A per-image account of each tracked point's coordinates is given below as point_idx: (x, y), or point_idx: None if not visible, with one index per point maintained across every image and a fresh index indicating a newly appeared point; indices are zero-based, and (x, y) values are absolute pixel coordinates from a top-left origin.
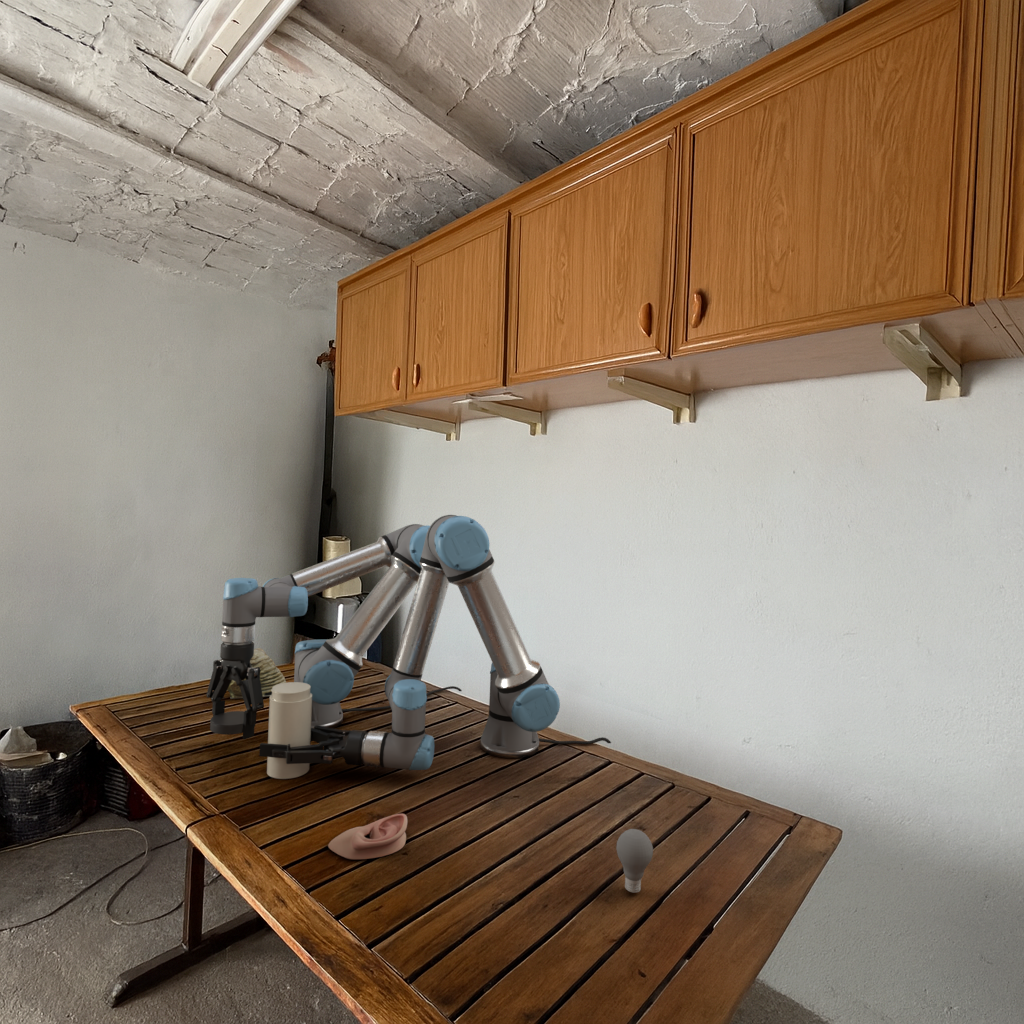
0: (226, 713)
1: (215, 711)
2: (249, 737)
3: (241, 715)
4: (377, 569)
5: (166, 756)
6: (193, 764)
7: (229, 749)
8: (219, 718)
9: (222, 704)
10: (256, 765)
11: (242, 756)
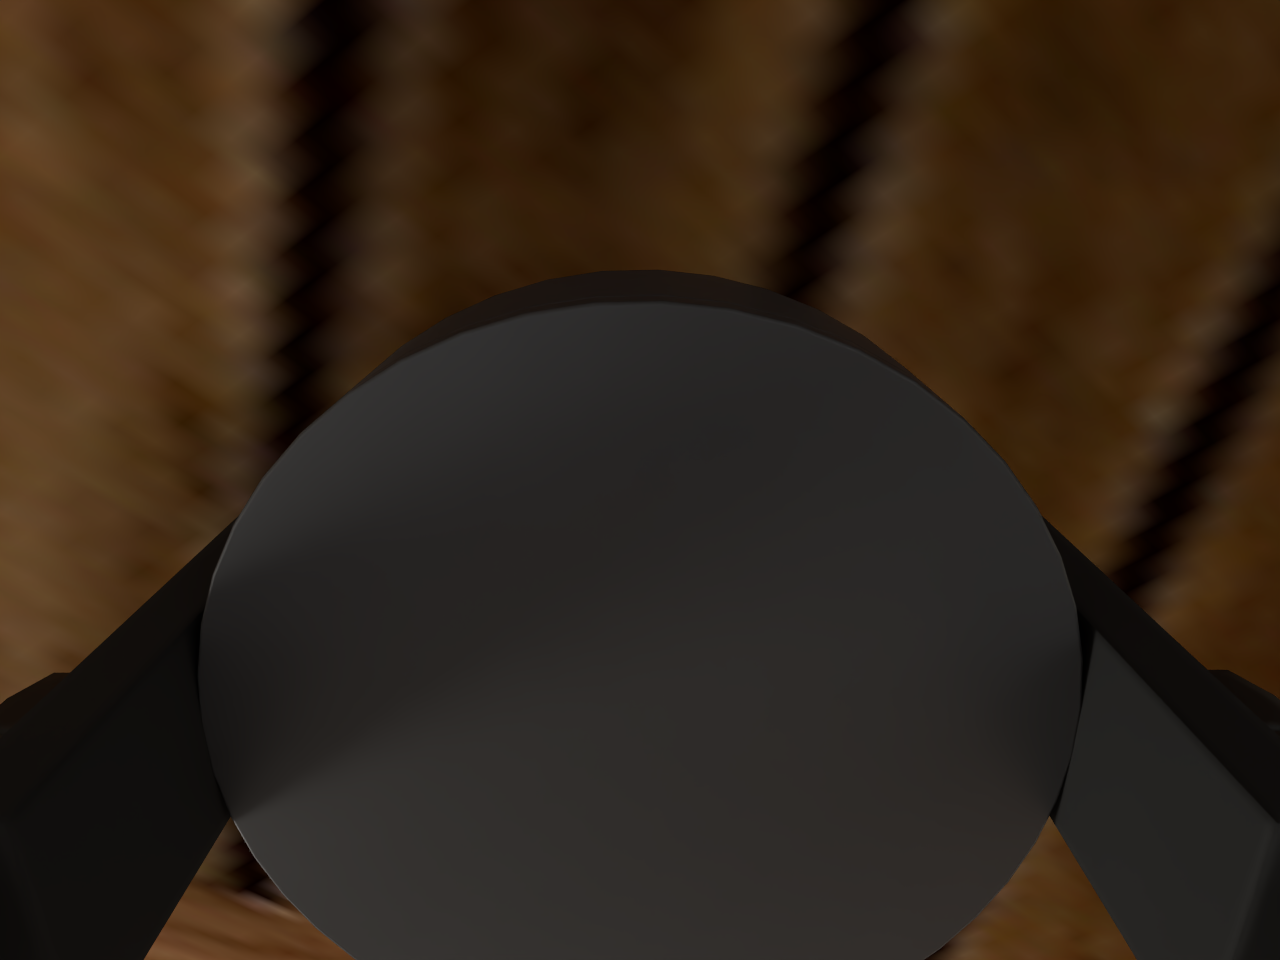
0: (288, 654)
1: (189, 881)
2: None
3: (648, 562)
4: None
5: (229, 855)
6: None
7: None
8: (459, 884)
9: (84, 824)
10: (1165, 577)
11: None
